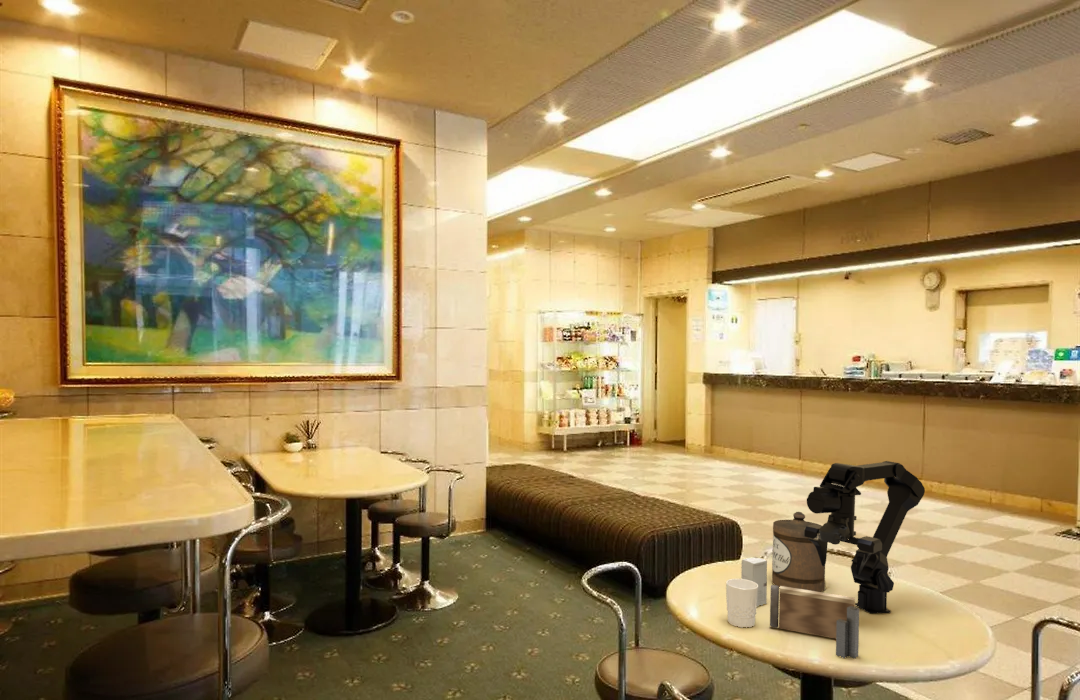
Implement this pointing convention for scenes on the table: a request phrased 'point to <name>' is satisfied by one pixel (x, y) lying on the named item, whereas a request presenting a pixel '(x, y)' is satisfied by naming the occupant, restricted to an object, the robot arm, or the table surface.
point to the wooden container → (796, 556)
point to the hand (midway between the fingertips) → (840, 570)
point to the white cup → (741, 602)
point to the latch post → (848, 634)
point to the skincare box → (756, 576)
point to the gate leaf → (807, 610)
